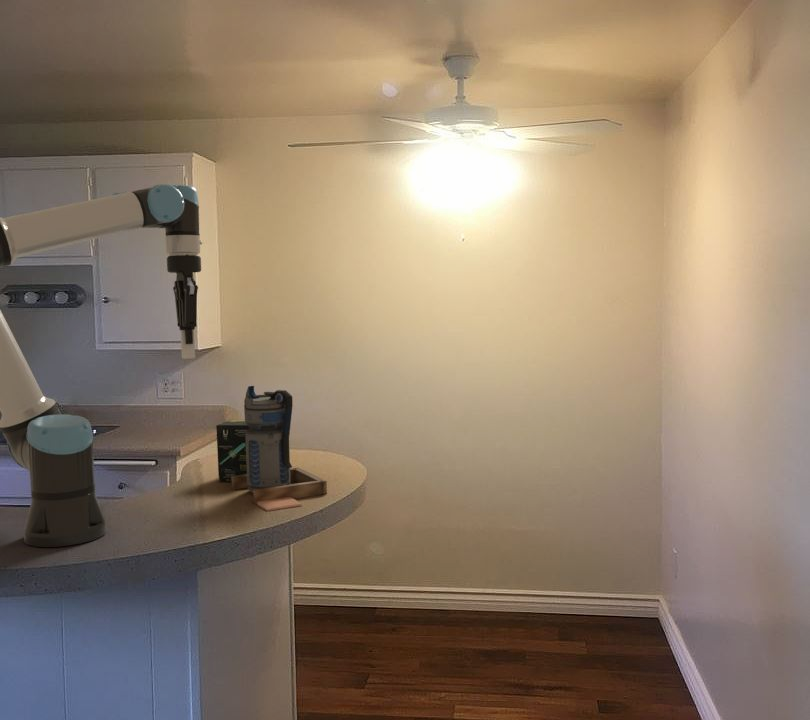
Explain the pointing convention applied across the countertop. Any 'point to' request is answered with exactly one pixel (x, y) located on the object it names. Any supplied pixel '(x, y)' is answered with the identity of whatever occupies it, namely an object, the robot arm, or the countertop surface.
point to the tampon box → (231, 449)
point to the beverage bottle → (267, 438)
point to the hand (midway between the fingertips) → (188, 358)
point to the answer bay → (286, 486)
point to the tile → (279, 503)
